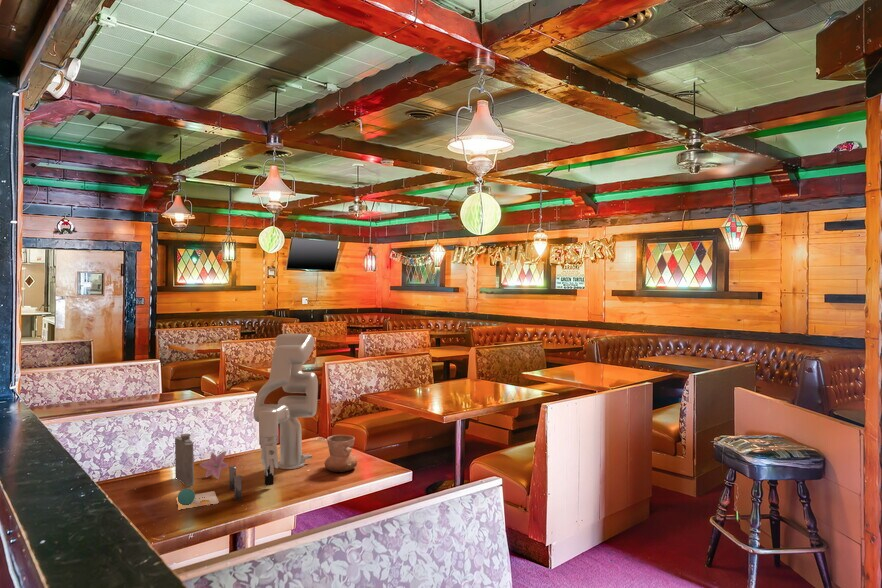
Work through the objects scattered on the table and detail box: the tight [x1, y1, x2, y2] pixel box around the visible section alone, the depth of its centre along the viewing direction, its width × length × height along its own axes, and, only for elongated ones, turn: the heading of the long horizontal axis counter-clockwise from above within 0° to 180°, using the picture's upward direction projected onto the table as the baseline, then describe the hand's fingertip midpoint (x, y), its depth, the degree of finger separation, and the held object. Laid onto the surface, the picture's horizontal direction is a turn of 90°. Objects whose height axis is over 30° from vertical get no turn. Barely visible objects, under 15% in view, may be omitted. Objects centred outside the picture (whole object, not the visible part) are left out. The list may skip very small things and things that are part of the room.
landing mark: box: [193, 490, 220, 506], centre depth 217 cm, size 14×14×1 cm
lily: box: [199, 450, 230, 480], centre depth 246 cm, size 12×12×10 cm
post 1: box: [228, 465, 237, 491], centre depth 229 cm, size 3×3×9 cm
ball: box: [177, 487, 196, 505], centre depth 213 cm, size 6×6×6 cm
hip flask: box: [174, 433, 195, 488], centre depth 237 cm, size 16×4×20 cm, turn 42°
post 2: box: [234, 474, 243, 502], centre depth 218 cm, size 3×3×9 cm
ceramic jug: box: [324, 434, 358, 473], centre depth 253 cm, size 18×14×14 cm
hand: (269, 484), depth 230 cm, fingers closed
